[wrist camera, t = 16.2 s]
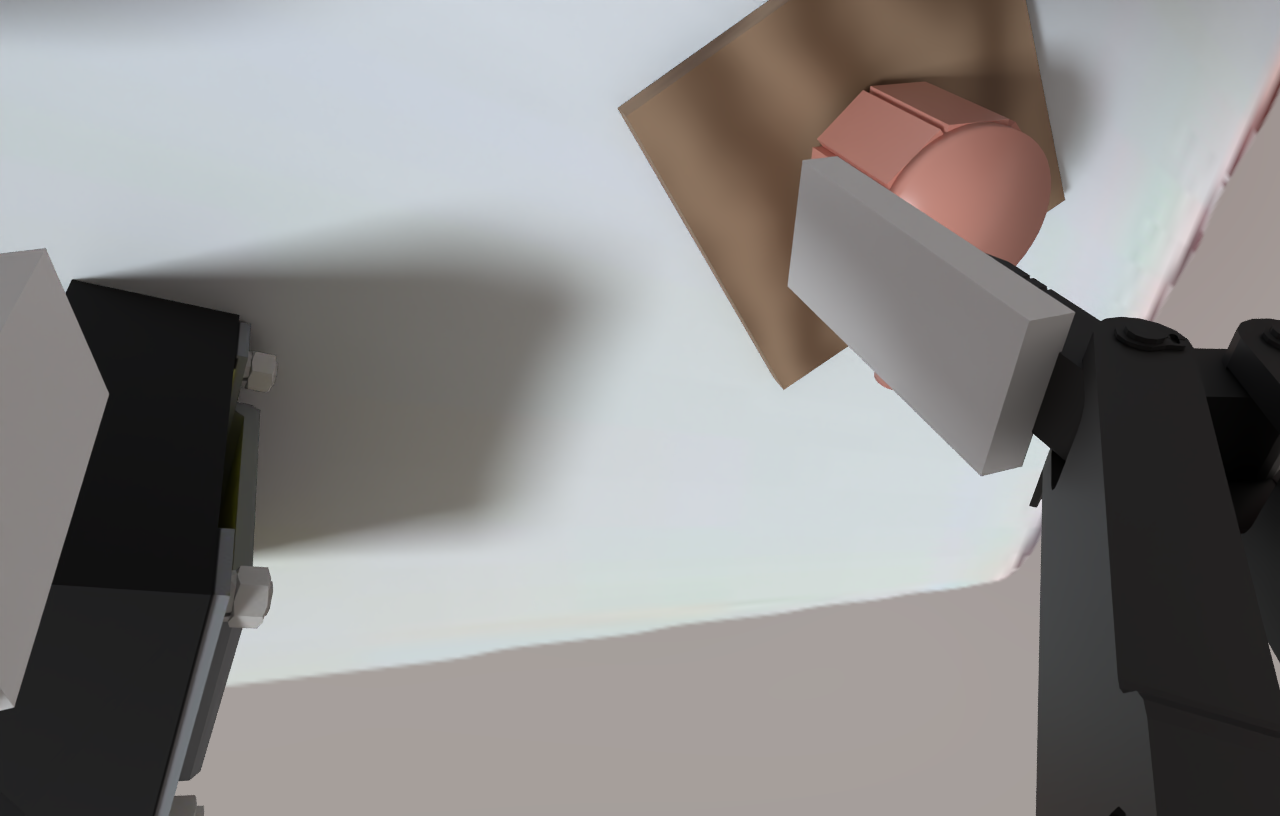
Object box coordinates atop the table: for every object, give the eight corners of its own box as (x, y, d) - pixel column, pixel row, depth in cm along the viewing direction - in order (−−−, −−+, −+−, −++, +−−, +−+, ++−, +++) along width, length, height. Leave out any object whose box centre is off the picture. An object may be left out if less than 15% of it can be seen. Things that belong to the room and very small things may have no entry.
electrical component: (219, 568, 52) (189, 890, 37) (18, 552, 47) (-113, 916, 32) (284, 324, 45) (280, 599, 29) (54, 275, 40) (-94, 575, 25)
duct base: (773, 378, 58) (843, 461, 51) (617, 108, 44) (682, 169, 37) (1049, 191, 57) (1161, 250, 49) (977, -149, 43) (1119, -137, 35)
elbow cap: (820, 90, 44) (905, 137, 38) (971, 77, 47) (1075, 119, 41) (786, 344, 53) (851, 415, 47) (915, 322, 56) (992, 387, 50)
